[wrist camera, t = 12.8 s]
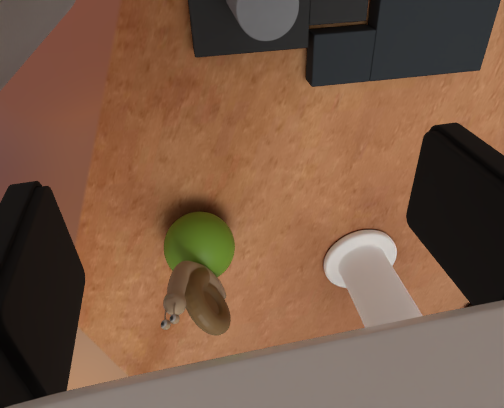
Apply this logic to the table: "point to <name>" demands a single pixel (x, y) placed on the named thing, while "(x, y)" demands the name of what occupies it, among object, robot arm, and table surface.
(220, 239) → the snail figurine
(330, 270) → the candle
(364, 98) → the table surface
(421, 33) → the dock pad
